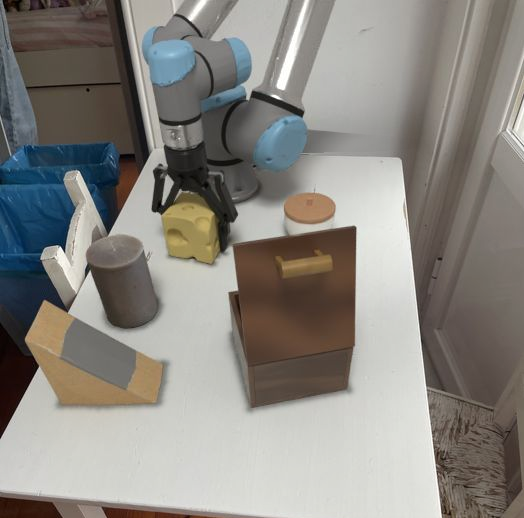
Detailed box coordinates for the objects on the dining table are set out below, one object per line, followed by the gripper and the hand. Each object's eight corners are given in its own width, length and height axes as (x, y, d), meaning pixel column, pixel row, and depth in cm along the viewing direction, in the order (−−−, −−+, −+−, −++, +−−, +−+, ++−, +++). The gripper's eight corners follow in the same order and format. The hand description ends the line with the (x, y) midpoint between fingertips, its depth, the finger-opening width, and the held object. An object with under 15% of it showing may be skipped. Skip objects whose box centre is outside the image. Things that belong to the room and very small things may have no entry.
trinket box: (330, 254, 101) (333, 214, 94) (279, 249, 103) (279, 209, 96) (335, 225, 108) (338, 186, 101) (288, 221, 110) (288, 183, 103)
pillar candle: (105, 331, 87) (79, 264, 76) (108, 296, 94) (85, 230, 83) (159, 324, 88) (141, 257, 77) (158, 290, 95) (142, 224, 84)
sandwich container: (157, 404, 76) (136, 338, 65) (60, 406, 76) (23, 340, 65) (164, 363, 82) (146, 296, 71) (74, 365, 82) (42, 298, 71)
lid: (232, 243, 59) (239, 259, 54) (354, 225, 61) (372, 239, 56) (247, 363, 68) (254, 386, 63) (353, 343, 70) (368, 364, 65)
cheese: (212, 265, 100) (207, 223, 92) (165, 256, 102) (157, 214, 95) (231, 237, 106) (227, 196, 99) (186, 229, 109) (179, 188, 102)
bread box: (232, 334, 86) (228, 291, 79) (317, 319, 88) (320, 276, 81) (250, 408, 75) (247, 366, 68) (347, 389, 77) (353, 347, 70)
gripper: (116, 145, 87) (142, 247, 104) (238, 157, 83) (245, 262, 99) (135, 128, 92) (157, 227, 109) (250, 138, 88) (255, 241, 104)
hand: (199, 244), depth 104 cm, fingers closed on cheese, 11 cm apart
